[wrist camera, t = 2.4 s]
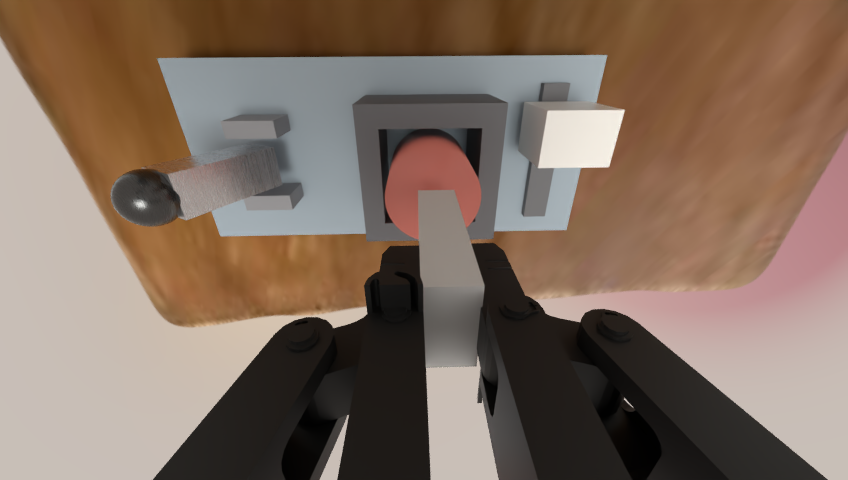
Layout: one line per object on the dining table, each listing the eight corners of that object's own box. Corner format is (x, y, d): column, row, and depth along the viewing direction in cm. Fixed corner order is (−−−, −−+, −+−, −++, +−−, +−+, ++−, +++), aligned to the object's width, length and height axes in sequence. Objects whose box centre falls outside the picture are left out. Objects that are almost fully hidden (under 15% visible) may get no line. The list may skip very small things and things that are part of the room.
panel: (188, 58, 22) (81, 57, 15) (584, 55, 22) (662, 53, 15) (238, 219, 28) (179, 273, 21) (552, 214, 28) (597, 265, 21)
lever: (245, 139, 21) (86, 173, 15) (275, 144, 20) (116, 183, 13) (256, 181, 22) (115, 228, 16) (285, 188, 21) (145, 241, 15)
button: (389, 128, 19) (381, 151, 14) (467, 127, 19) (485, 150, 14) (393, 200, 21) (387, 242, 16) (463, 199, 21) (477, 240, 17)
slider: (524, 101, 20) (547, 110, 17) (588, 101, 20) (624, 109, 17) (517, 150, 22) (537, 168, 18) (577, 149, 22) (609, 167, 18)
